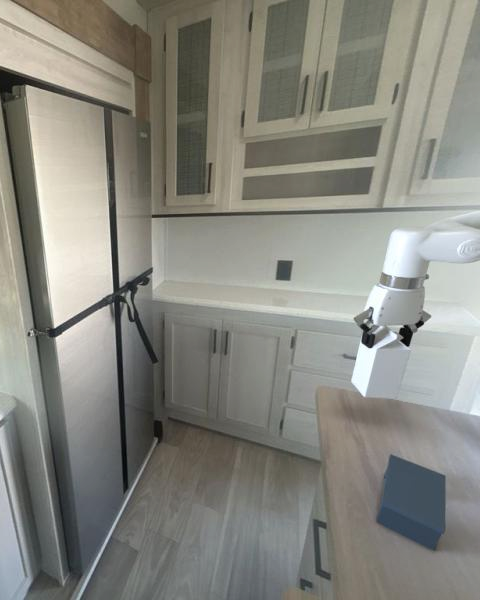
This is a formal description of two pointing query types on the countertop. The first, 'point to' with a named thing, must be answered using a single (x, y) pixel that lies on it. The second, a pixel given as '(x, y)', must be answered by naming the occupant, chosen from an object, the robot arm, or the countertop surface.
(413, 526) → the navy blue slab
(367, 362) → the milk carton
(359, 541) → the countertop surface
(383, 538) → the countertop surface
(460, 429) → the countertop surface
